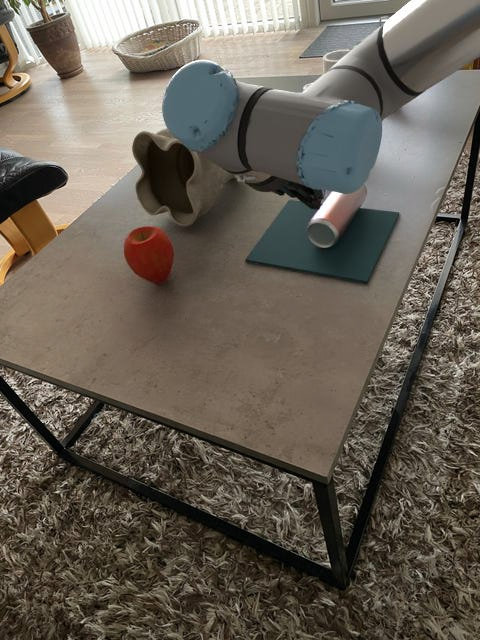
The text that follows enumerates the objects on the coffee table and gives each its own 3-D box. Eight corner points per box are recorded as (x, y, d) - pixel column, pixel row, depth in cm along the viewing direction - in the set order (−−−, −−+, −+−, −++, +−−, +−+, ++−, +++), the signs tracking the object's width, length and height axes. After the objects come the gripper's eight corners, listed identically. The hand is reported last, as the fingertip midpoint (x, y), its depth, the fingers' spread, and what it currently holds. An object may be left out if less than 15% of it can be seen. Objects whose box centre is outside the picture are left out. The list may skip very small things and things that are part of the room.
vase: (204, 101, 111) (109, 122, 92) (284, 89, 98) (191, 112, 79) (221, 195, 121) (138, 232, 102) (295, 196, 108) (215, 239, 89)
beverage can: (302, 218, 82) (336, 174, 91) (307, 247, 86) (339, 202, 95) (335, 222, 79) (367, 176, 88) (338, 252, 83) (368, 205, 92)
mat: (399, 214, 89) (399, 212, 89) (367, 284, 78) (367, 281, 77) (289, 202, 99) (288, 199, 98) (245, 262, 87) (244, 259, 87)
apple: (127, 286, 88) (105, 237, 80) (161, 260, 92) (144, 211, 84) (157, 303, 83) (137, 252, 76) (192, 275, 87) (176, 224, 79)
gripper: (205, 180, 60) (275, 219, 81) (303, 190, 55) (351, 229, 76) (216, 119, 60) (284, 174, 81) (317, 122, 54) (361, 181, 75)
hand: (316, 200), depth 78 cm, fingers closed
